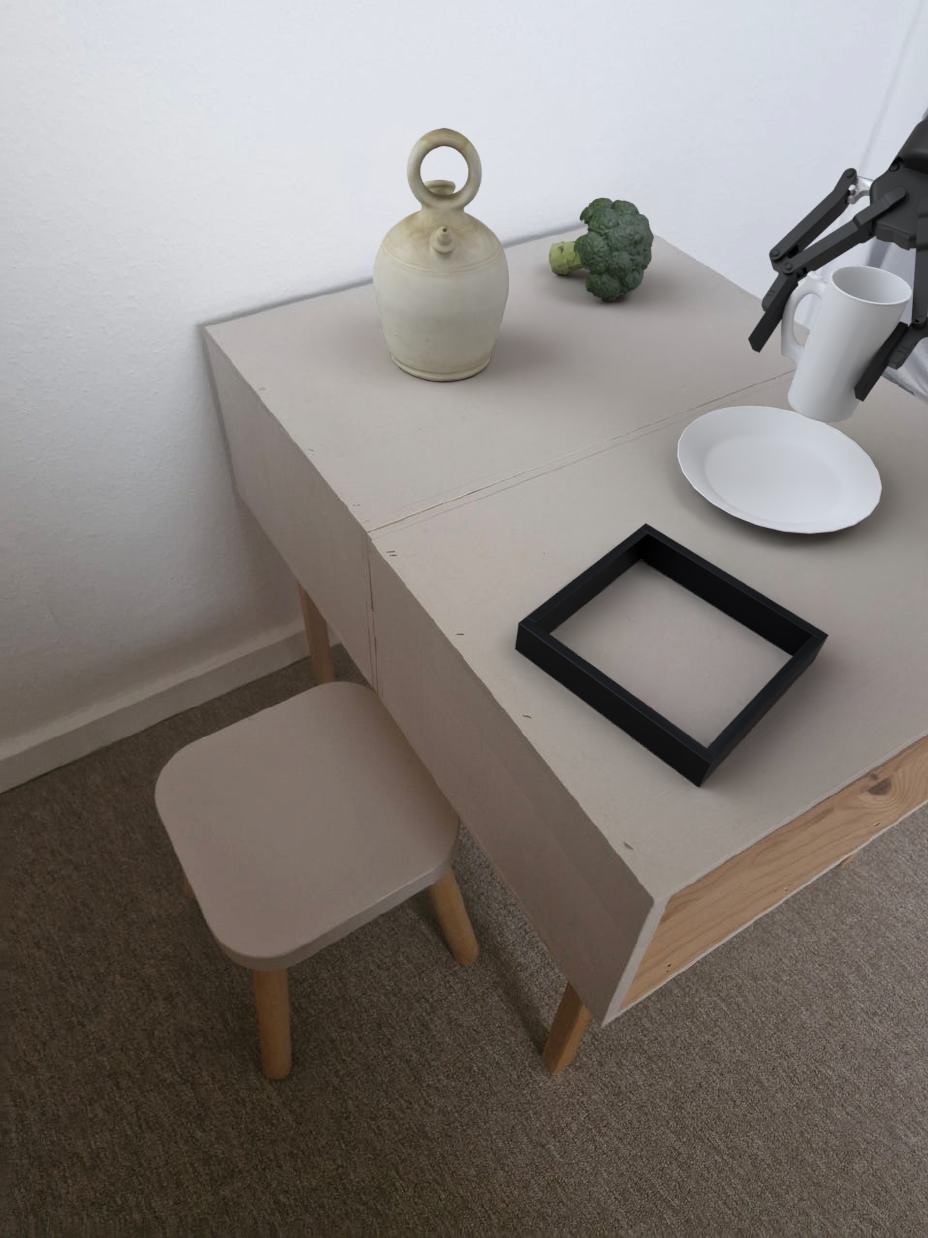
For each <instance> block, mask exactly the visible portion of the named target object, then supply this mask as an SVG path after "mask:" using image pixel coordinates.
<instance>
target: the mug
mask: <svg viewBox="0 0 928 1238" xmlns="http://www.w3.org/2000/svg"><path fill="white" fill-rule="evenodd" d="M808 295H815V296H817V297H818V298H819V299H820V302H819V305H818V307H817V311H816V313H815V316H814V319H813V322H812V325H811V327H810V330H809V332H808V335H807V339H806V341H805V344H804V345H802V344H800V343H799V341H798V340H797V338H796V335H795V331H794V324H795V323H794V322H795V315H796V310H797V309H798V306H799V304H800V303H801V302H802V300H803V299H804V298H805V297H807V296H808ZM912 297H913V289H912V287H911V285H910V284H909V283H908V282H907V281H906V280H904V278H902V277H900V276H898V274H895V273H892V271H891V272H890V271H888V270H885V269H882V268H879V267H874V266H870V265H859V264H849V265H842V266H839V267H837V268H835V269H833V270H832V271H831V272H830V274H829V278H828V281H827V282H826V281H825V280H824V276H822V274H819V273H817V272H816V271H811V272H809V273H808V274H807V276H806V277H805V278H803V279H802V280H801V282H800V283H798V287H797V288H796V289H795V290H794V291H793V292H792V294H791V295H790V297H789V298H788V300H787V302H786V305H785V307H784V311H783V315H782V319H781V321H780V323H781V324H780V354H781V356H782V357H784V358H786V359H789V360H790V361H792V362H793V363H794V364H795V367H796V369H795V371H794V375H793V378H792V380H791V384H790V386H789V390H788V392H787V401H788V403H789V405H790V406H791V408H792V409H793V410H794V411H795V412H797V413H800V414H801V415H803V416H805V417H807V418H810V419H813V420H816V421H821V422H823V423H840V422H843V421H846V420H848V419H850V418H851V417H852V416H853V415H854V413H855V412H856V409H857V408H858V405H859V404H860V401H861V400H858V399H856V398H855V392H854V387H855V386H856V384H857V383H858V381H859V380H860V378H861V377H862V375H863V374H864V372H865V371H866V370H867V368H868V367H869V365H870V364H871V362H872V361H873V359H874V358H875V356H876V355H877V353H878V352H879V351H880V349H881V348H882V346H883V345H884V343H885V342H886V340H887V339H888V337H889V336H890V335H891V333H892V332H893V330H894V329H895V328H896V326H897V324H898V323H899V321H901V318H902V317H903V314H904V312H905V310H906V308H907V305H908V304H909V301H910V299H911V298H912Z"/></svg>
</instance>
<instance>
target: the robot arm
mask: <svg viewBox="0 0 928 1238" xmlns="http://www.w3.org/2000/svg"><path fill="white" fill-rule="evenodd" d="M863 197H869V198H868V199H869V205H867V206H866V207H864V208H863V209H861V210H860V211H858V212H857V213H856V214H854V216H852V218H851V219H850V220H849V221H847V222H846V223H844V224H843V225H841V226H840V227H838V228H836V229H834V230H833V231H832V232H830V233H829V234H827V235H825V236H824V237H823V238H820V239H819V240H818V241H815V240H816V239H818V237H820V235H822V234H823V233H824V232H825V231H826V230H827V229H828V228H829V227H830V226H832V224H833V223H835V221H836V220H837V219H838V218H840V217H841V215H842V214H844V212H845V211H846V210H847V209H848V207H850V205H855V204H857V203H858V201H860V199H862V198H863ZM874 238H876V240H878V241H880V242H884V243H893V244H895V245H896V246H897V247H899V248H900V249H902V250H904V251H907V252H908V251H909V252H910V250H913V249H914V250H915V256H914V257H915V260H914V274H913V287H912V288H913V289H912V303H911V304H912V305H911V306H912V307H911V317H910V324H909V323H906V322H904V321H901V320H899V322H898V324H897V326H896V328H895V329H894V330H893V332H892V333H891V335H890V336H889V337H888V339H887V340H886V342H885V343H884V345H883V346H882V348H881V349H880V351H879V352H878V353H877V355H876V356H875V358H874V359H873V361H872V362H871V364H870V365H869V367H868V368H867V370H866V371H865V372H864V374H863V375H862V377H861V378H860V380H859V381H858V383H857V384H856V386H855V387H854V392H855V398H856V399H858V400H860V401H861V402H864V401H865V400H866V398H867V397H868V395H869V394H870V392H872V390H873V388H874V387H875V385H876V384H877V382H878V381H879V380H880V378H881V377H882V376H883V374H884V372H885V371H886V370H887V368H890V369H893V370H894V371H898V370H899V369H900V368H902V367H903V366H904V364H905V363H906V362H907V360H908V358H910V357H909V356H910V355H911V354H912V353H913V351H914V350H915V348H916V347H917V345H918V344H919V343H920V342H921V340H924V339H926V338H928V107H927V108H926V109H925V111H924V112H923V114H922V117H921V121H919V122H918V123H917V124H916V125H915V126H914V128H913V129H912V131H911V132H910V134H909V135H908V137H907V138H906V140H905V141H904V143H903V144H902V146H901V148H900V149H899V150H898V152H897V154H896V155H895V157H894V158H893V159H892V162H891V163H890V165H889V166H888V167H887V169H886V170H885V172H884V173H882V174H880V175H879V176H877V177H876V178H874V179H872V178H868V177H865V176H861V175H858V172H857V170H856V168H854V167H849V168H846V169H845V170H844V171H843V172H842V174H841V176H840V177H839V179H838V181H837V182H836V184H835V186H834V188H833V190H832V191H831V192H829V194H827V195H826V196H825V198H823V199H822V200H821V201H820V202H819V203H818V204H817V205H816V206H815V207H813V209H812V210H811V211H809V212H808V213H807V215H806V216H804V217H803V219H801V220H800V221H799V222H798V223H797V224H796V225H795V226H794V227H793V228H792V229H791V230H790V231H788V233H787V234H786V235H785V236H784V237H782V238H781V239H780V240H779V241H778V242H777V243H776V244H775V245H773V247H772V248H771V249H770V250H769V252H768V257H769V260H770V264H771V267H772V269H773V271H775V272H777V273H778V274H777V276H776V278H775V280H773V283H772V284H771V286H770V287H769V289H768V290H767V292H766V293H765V295H764V296H763V298H762V300H761V308H762V311H763V312H764V313H763V315H762V317H761V318H760V319H759V321H758V322H757V324H756V326H755V327H754V329H753V330H752V332H751V333H750V334H749V336H748V338H747V340H748V343H749V345H750V347H751V349H752V351H754V352H757V353H759V354H760V353H761V351H762V350H763V348H764V347H765V346H766V344H767V342H768V341H769V339H770V337H771V336H772V335H773V333H775V330H776V328H777V327H778V326H779V324H780V323H781V322H782V315H783V311H784V307H785V305H786V302H787V300H788V298H789V297H790V295H791V294H792V292H793V291H794V290H795V289H796V288H797V287H798V285H799V282H800V281H803V280H804V279H805V278H806V276H807V274H808V273H809V272H811V271H814V272H816V271H818V270H819V269H821V268H822V267H824V266H826V265H827V264H829V263H830V262H833V261H835V259H837V258H838V257H841V256H842V255H844V254H845V253H847V252H849V250H852V249H853V248H855V247H856V246H858V245H860V244H861V245H862V244H865V243H867V242H868V241H870V240H872V239H874ZM814 241H815V243H813V242H814ZM812 243H813V244H812Z"/></svg>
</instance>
